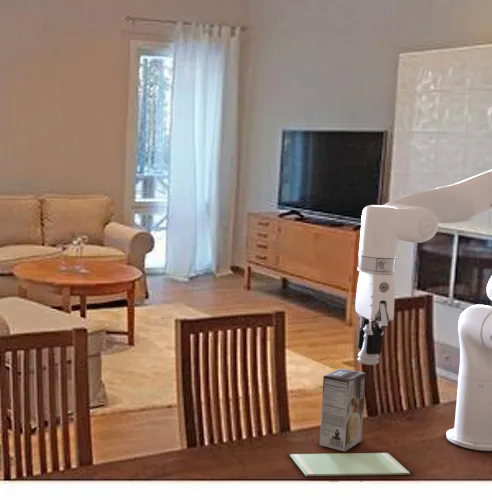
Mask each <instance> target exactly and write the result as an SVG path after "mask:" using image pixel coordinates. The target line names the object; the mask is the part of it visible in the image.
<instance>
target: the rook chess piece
mask: <svg viewBox="0 0 492 500" xmlns="http://www.w3.org/2000/svg"><path fill="white" fill-rule="evenodd" d="M363 330H364V332H365V335H364V343H363V347H362V349H360V351H359V352H358V354H357V356H358V358H357V361H358V363H360V364H362V365H367V366H368V365H369V366H376V365H378V364H379V362H380V361H379V359H380V354H367V353H366V352H365V350H366V338H367V335H369V324H365V327H364V328H363Z"/></svg>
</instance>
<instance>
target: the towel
mask: <svg viewBox="0 0 492 500" xmlns="http://www.w3.org/2000/svg"><path fill="white" fill-rule="evenodd" d="M289 457H290V458H291V460H293V462H294V463H295V464H296V466H297V467H298V468H299V470H300V471H301V472H302V474H304V476H305V477H334V476H335V477H338V476H339V477H341V476H343V477H344V476H390V475H391V476H392V475H393V476H395V475H396V476H397V475H398V476H399V475H402V476H403V475H411V472H410V471H409V470H407V469H406V467H404V466H403V464H401V463H400V462H399V461H398V460H397V459H396V458H394V457H393V456H392V455H391V454H390V453H389V452H364V453H363V452H361V453H359V452H356V453H355V452H354V453H352V452H351V453H350V452H349V453H345V452H343V453H289Z"/></svg>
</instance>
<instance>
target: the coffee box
mask: <svg viewBox="0 0 492 500" xmlns="http://www.w3.org/2000/svg"><path fill="white" fill-rule="evenodd" d="M366 375H367V373H366V372H362V371H357V370H351V369H345V368H338V369H336V370H334V371H332V372H329V373H327V374H325V375H323V381H322V397H321V398H322V399H321V411H320V413H321V414H320V433H319V446H322V447H325V448H328V449H329V448H330V449H332V450H337V451H340V452H343V453H345V452H347V451H349V450H350V449H351V448H353V447H354V446H356V445H357V444H359V443H361V442H362V441H363V440H362V437H363V425H364V424H363V423H364V409H365V393H366V392H365V391H366Z"/></svg>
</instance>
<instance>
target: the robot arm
mask: <svg viewBox="0 0 492 500" xmlns="http://www.w3.org/2000/svg"><path fill="white" fill-rule="evenodd" d="M490 212H492V169H490V170H486V171H484V172H482V173H479V174H477V175H474V176H471V177H469V178H467V179H463V180H461V181H459V182H456V183H453V184H449V185H442V186H439V187H435V188H431V189H426V190H422V191H417V192H412V193H409V194H406V195H403V196H401V197H398V198H395V199H393V200H390V201H388V202H386V203H384V204H382V205H377V204H370V205H366V206H365V207H364V208H363V209H362V213H361V214H362V215H361V223H360V226H361V227H360V236H359V246H358V247H359V249H358V260H357V261H358V262H357V271H358V272H359V273H358V277H357V286H356V294H355V307H354V310H355V312H356V313H357V316H358V320H359V321H358V339H357V348H358V349H359V350H361V349H362V347H363V343H364V335H365V332H364V330H363V328H364V327H365V324H369V335H367V338H366V350H365V352H366V353H367V354H378V355H381V354H382V346H383V336H384V334H385V333H384V332H385V329H386V328H387V327H389V326H388V325H389V323H388V322H392V321H393V320H394V317H395V316H394V315H395V314H394V313H395V300H396V299H395V297H396V296H395V295H396V293H395V292H396V289H395V288H396V286H395V285H396V284H395V273H396V265H397V252H398V243H399V241H405V242H409V243H416V244H419V243H421V244H422V243H425V242H427V241H430V240H431V239H432V238H434V236H436V234H437V232H438V229H439V224H454V223H464V222H469V221H472V220H474V219H477V218H478V217H481V216H484V215H485V214H488V213H490ZM486 295H487V297H488V299H489V300H490V301H491V302H492V275H491V276H490V278H489V280H488V283H487V284H486ZM377 318H378V319H377ZM457 332H458V333H457V334H458V341H459V367H458V368H459V369H458V381H457V393H456V405H455V416H454V425H453V426H454V427H453V428H451V429H448V430H447V431H446V439H447V440H448V441H449V442H450V443H451V444H454V445H456V446H458V447H462V448H465V449H470V450H474V451H480V452H481V451H482V452H492V306H491V305H485V304H474V305H471V306H469V307H467V308H465V309H464V311H462V313H461V314H460V316H459V319H458V324H457Z"/></svg>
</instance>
